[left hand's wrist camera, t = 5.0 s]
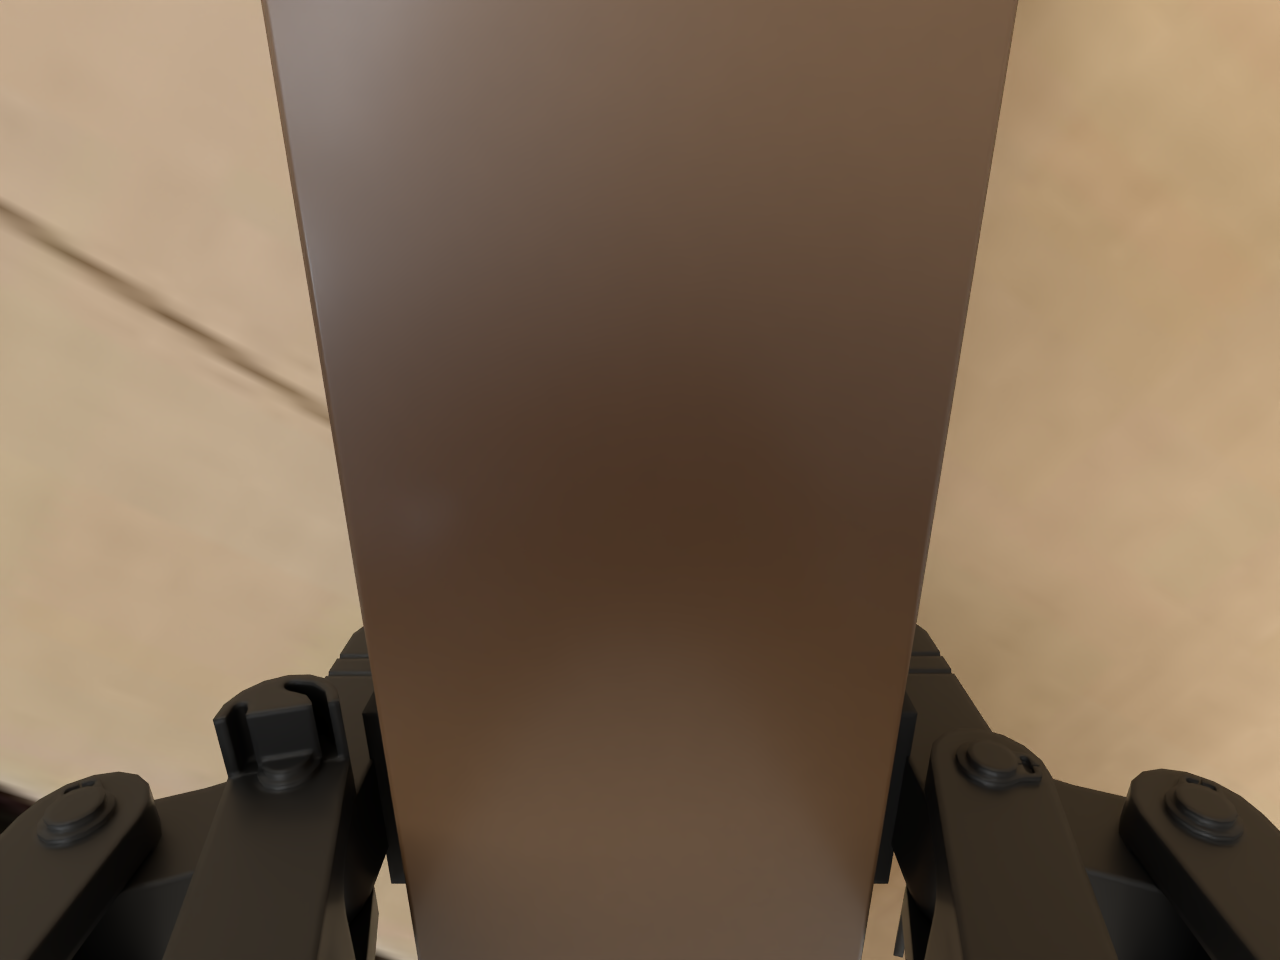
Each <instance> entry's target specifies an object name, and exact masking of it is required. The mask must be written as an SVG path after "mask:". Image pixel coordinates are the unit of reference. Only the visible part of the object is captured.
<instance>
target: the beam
mask: <svg viewBox="0 0 1280 960" xmlns="http://www.w3.org/2000/svg"><path fill="white" fill-rule="evenodd" d="M261 3H262V9H263V15H264V21H265V27H266V33H267V39H268V45H269V52H270V58H271V64H272V70H273V76H274V82H275V88H276V94H277V100H278V106H279V113H280V119H281V125H282V131H283V137H284V143H285V149H286V155H287V161H288V168H289V174H290V180H291V186H292V192H293V198H294V204H295V210H296V216H297V222H298V229H299V235H300V241H301V247H302V253H303V259H304V265H305V271H306V277H307V284H308V290H309V296H310V302H311V308H312V314H313V320H314V326H315V332H316V338H317V345H318V351H319V357H320V363H321V369H322V375H323V381H324V387H325V393H326V399H327V406H328V412H329V418H330V424H331V430H332V436H333V442H334V448H335V454H336V461H337V467H338V473H339V479H340V485H341V491H342V497H343V503H344V509H345V515H346V522H347V528H348V534H349V540H350V546H351V552H352V558H353V564H354V570H355V577H356V583H357V589H358V595H359V601H360V607H361V613H362V619H363V625H364V631H365V638H366V644H367V650H368V656H369V662H370V668H371V674H372V680H373V686H374V692H375V699H376V705H377V711H378V717H379V723H380V729H381V735H382V741H383V747H384V754H385V760H386V766H387V772H388V778H389V784H390V790H391V796H392V802H393V808H394V815H395V821H396V827H397V833H398V839H399V845H400V851H401V857H402V863H403V870H404V876H405V882H406V888H407V894H408V900H409V906H410V912H411V918H412V924H413V931H414V937H415V943H416V949H417V955H418V960H861V958H862V952H863V946H864V939H865V933H866V927H867V921H868V915H869V909H870V903H871V897H872V891H873V884H874V878H875V872H876V866H877V860H878V854H879V848H880V842H881V836H882V829H883V823H884V817H885V811H886V805H887V799H888V793H889V787H890V780H891V774H892V768H893V762H894V756H895V750H896V744H897V738H898V732H899V725H900V719H901V713H902V707H903V701H904V695H905V689H906V683H907V677H908V670H909V664H910V658H911V652H912V646H913V640H914V634H915V628H916V622H917V615H918V609H919V603H920V597H921V591H922V585H923V579H924V573H925V566H926V560H927V554H928V548H929V542H930V536H931V530H932V524H933V518H934V511H935V505H936V499H937V493H938V487H939V481H940V475H941V469H942V463H943V456H944V450H945V444H946V438H947V432H948V426H949V420H950V414H951V408H952V401H953V395H954V389H955V383H956V377H957V371H958V365H959V359H960V352H961V346H962V340H963V334H964V328H965V322H966V316H967V310H968V304H969V297H970V291H971V285H972V279H973V273H974V267H975V261H976V255H977V249H978V242H979V236H980V230H981V224H982V218H983V212H984V206H985V200H986V194H987V187H988V181H989V175H990V169H991V163H992V157H993V151H994V145H995V138H996V132H997V126H998V120H999V114H1000V108H1001V102H1002V96H1003V90H1004V83H1005V77H1006V71H1007V65H1008V59H1009V53H1010V47H1011V41H1012V35H1013V28H1014V22H1015V16H1016V10H1017V4H1018V0H261Z"/></svg>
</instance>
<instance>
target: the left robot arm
mask: <svg viewBox="0 0 1280 960" xmlns="http://www.w3.org/2000/svg"><path fill="white" fill-rule="evenodd" d="M213 722H214V726H215V729H216V733H217V737H218V741H219V744H220V748H221V752H222V755H223V759H224V763H225V767H226V770H227V774H228V780H227V782H225V783H221V784H218V785H215V786H212V787H208V788H204V789H200V790H196V791H191V792H187V793H183V794H178V795H174V796H170V797H165V798H161V799H157V800H154V799H153V796H152V793H151V789H150V786H149V784H148V783H147V782H146V781H145V780H143V779H142V778H141V777H140V776H139V775H136V774H130V773H124V772H113V773H106V774H99V775H93V776H90V777H87V778H84V779H81V780H79V781H76V782H73V783H70V784H67V785H65V786H63V787H61V788H60V789H58V790H56V791H54V792H52V793H50V794H49V795H47V796H45V797H43V798H41V799H40V800H38V801H37V802H36V803H35V804H33V805H32V806H31V807H30V808H29V809H27V810H26V811H25V812H24V813H22V814H21V815H20V816H19V817H17V818H16V819H15V821H14V822H13V823H12V824H11V825H10V826H9V827H8V828H7V829H6V830H5V831H4V832H3V833H2V834H1V835H0V960H375V950H376V938H377V927H378V915H379V912H378V906H377V899H376V894H375V888H374V884H375V881H376V879H377V876H378V873H379V871H380V868H381V866H382V863H383V860H384V858H385V855H387V861H388V866H389V872H390V878H391V884H406V882H405V876H404V870H403V863H402V857H401V851H400V845H399V839H398V833H397V827H396V821H395V815H394V808H393V802H392V796H391V790H390V784H389V778H388V772H387V766H386V760H385V754H384V747H383V741H382V735H381V729H380V723H379V717H378V711H377V705H376V699H375V692H374V686H373V680H372V674H371V668H370V662H369V656H368V650H367V644H366V638H365V631H364V626H363V627H362V628H361V629H359V630H358V631H357V632H355V633H354V634H353V635H352V637H351V638H350V640H349V641H348V643H347V644H346V646H345V648H344V649H343V651H342V652H341V654H340V659H337V660H336V661H335V663H334V665H333V666H332V668H331V669H330V671H329V676H326V677H325V678H321V677H317V676H314V675H287V676H283V677H279V678H275V679H271V680H266V681H263V682H261V683H259V684H257V685H255V686H252V687H250V688H248V689H246V690H244V691H242V692H240V693H239V694H238V695H236V696H235V697H234V698H232V699H231V700H230V701H228V702H227V703H226V704H224V705H223V707H222V708H221V709H220V711H219V712H218V713H217V715H216V716H215V718H214V719H213ZM893 852H894V853H895V856H896V858H897V861H898V863H899V866H900V868H901V871H902V874H903V876H904V879H905V881H906V888H905V894H904V899H903V904H902V910H901V915H900V921H899V926H898V931H897V937H896V943H895V949H894V956H898V957H903V954H904V949H905V960H1280V831H1279V830H1278V829H1277V828H1276V827H1275V826H1274V825H1273V824H1272V823H1271V822H1270V821H1269V820H1268V819H1267V818H1266V817H1265V816H1264V815H1263V814H1262V813H1261V812H1260V811H1259V810H1257V809H1256V808H1255V807H1254V806H1252V805H1251V804H1250V803H1249V802H1247V801H1246V800H1245V799H1244V798H1242V797H1241V796H1240V795H1238V794H1236V793H1234V792H1232V791H1230V790H1229V789H1227V788H1225V787H1223V786H1221V785H1219V784H1218V783H1216V782H1214V781H1211V780H1208V779H1205V778H1203V777H1199V776H1196V775H1193V774H1191V773H1188V772H1182V771H1175V770H1167V769H1157V770H1150V771H1144V772H1142V773H1140V774H1139V775H1138V776H1137V777H1136V778H1134V779H1133V780H1132V781H1131V785H1130V788H1129V791H1128V794H1127V797H1123V796H1119V795H1114V794H1110V793H1106V792H1101V791H1097V790H1093V789H1088V788H1084V787H1079V786H1075V785H1071V784H1068V783H1065V782H1061V781H1058V780H1055V779H1052V776H1051V775H1050V773H1049V771H1048V770H1047V768H1046V767H1045V765H1044V764H1043V762H1042V760H1040V759H1039V758H1038V757H1037V756H1036V755H1034V754H1033V753H1032V752H1031V751H1030V750H1028V749H1027V748H1026V747H1025V746H1023V745H1021V744H1019V743H1017V742H1016V741H1014V740H1012V739H1010V738H1008V737H1006V736H1004V735H1001V734H997V733H993V732H992V731H991V730H990V728H989V727H988V725H987V723H986V722H985V720H984V719H983V717H982V716H981V714H980V713H979V711H978V710H977V708H976V707H975V705H974V704H973V702H972V700H971V699H970V697H969V696H968V694H967V693H966V691H965V690H964V688H963V687H962V685H961V684H960V682H959V681H958V679H957V678H956V676H955V674H952V673H951V668H950V667H949V665H948V664H947V662H946V661H945V659H944V658H943V656H940V651H939V650H938V648H937V647H936V645H935V644H934V642H933V641H932V639H931V638H930V636H929V635H928V633H927V632H926V631H925V630H924V629H922V628H921V627H920V626H918V625H917V624H916V628H915V634H914V640H913V646H912V652H911V658H910V664H909V670H908V677H907V683H906V689H905V695H904V701H903V707H902V713H901V719H900V725H899V732H898V738H897V744H896V750H895V756H894V762H893V768H892V774H891V780H890V787H889V793H888V799H887V805H886V811H885V817H884V823H883V829H882V836H881V842H880V848H879V854H878V860H877V866H876V872H875V878H874V884H888V881H889V875H890V870H891V864H892V858H893Z"/></svg>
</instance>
